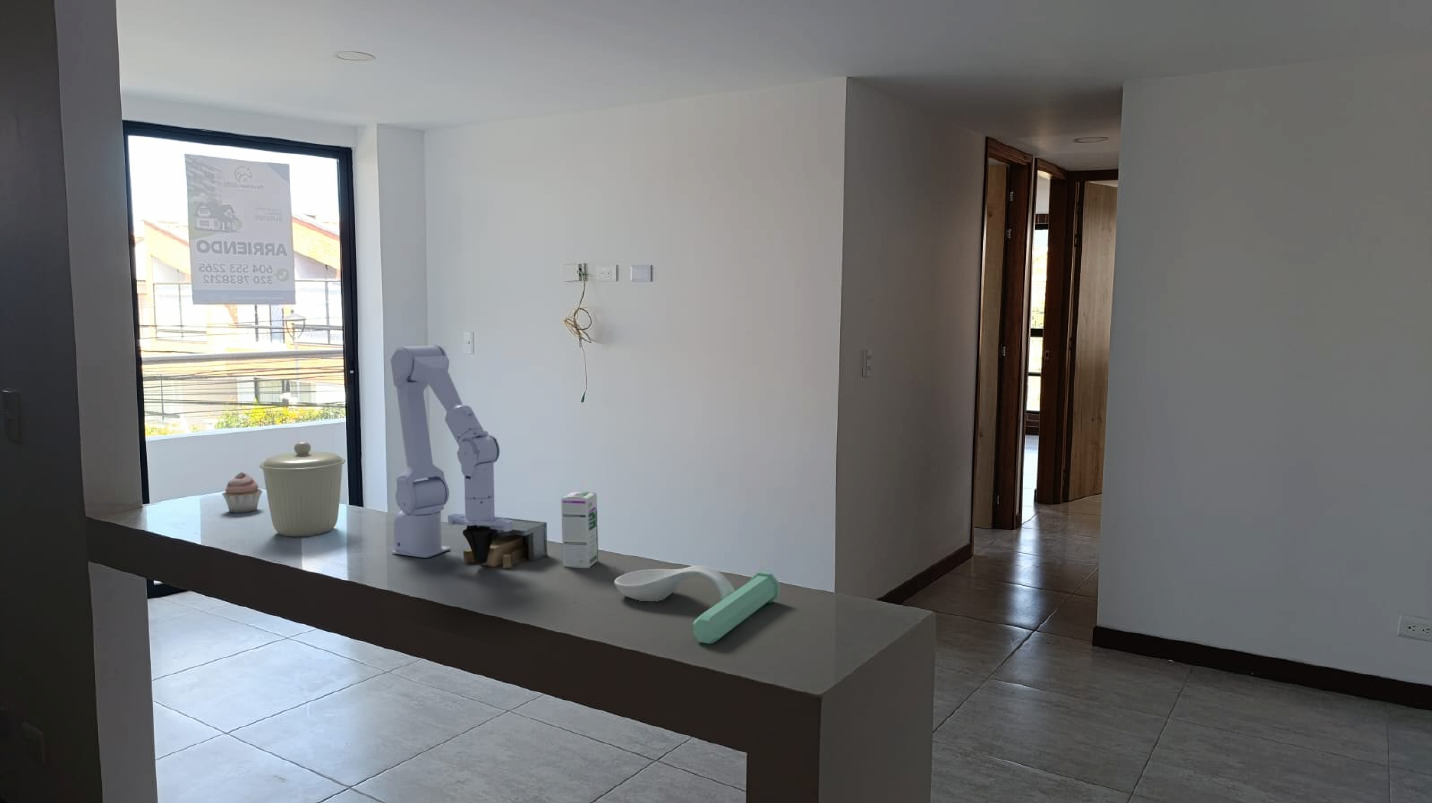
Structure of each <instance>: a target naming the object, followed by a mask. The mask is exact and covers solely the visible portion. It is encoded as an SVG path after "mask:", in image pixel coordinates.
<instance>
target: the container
mask: <svg viewBox="0 0 1432 803" xmlns="http://www.w3.org/2000/svg"><path fill="white" fill-rule="evenodd" d="M779 596H780V582H779V580H778V579H777V577H775V575H773V573H771V572H765V571H758V572H756V574H755V575H754V576H752V577H751V578H750V579H749V581H747V583H745V584H744V585H742V586H741V587H739V588H738V589H736V590H735V592H733V593H732V594H730V595H729V596H728V597H726V598H725V599H723V600H722V601H721V600H720V601H719V602H717V603H716V604H714V605H713V606H712V607H710V608H708V609H707V610H705V611H704V612H703V613H701V614H700V615H699V616H698V617H697V618H696V619H695V620H694V621H693V623H692V625H693V633H692V634H693V636H694V637H695V639H696V640H697V641H698V642H699V643H703V644H709V645H712V644H714V642H715V643H716V642H717V641H719V640H720V639H721V638H723V637H724V636H725V635H727V634H728V633H729V632H730V631H732V630H734V628H736V627H737V626H739V625H740V624H741V623H742V622H744V621H745V620H746V619H748V618H749V617H750V616H752V615H753V614H754V613H755V612H757V611H758V610H760V609H761V608H762V607H764V606H765V605H766V604H767V603H769V604H771V603H772V602H774V601H775V600H776V599H777V598H779Z"/></svg>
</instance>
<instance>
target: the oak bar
mask: <svg viewBox="0 0 1432 803" xmlns="http://www.w3.org/2000/svg"><path fill="white" fill-rule="evenodd" d="M522 545H523V537H517V536H509V535H507V536H504V537H501V538H499V539H496V540H493V541H492V543H491V546H490V549H489V553H488V557H487V562H485V563H483V564H482V565H481V566H486V565H488V566H487V567H497V566H499V565H501V564H502V565H503V555H504V553H505V552H507V551H510V550H512V549H515V548H517V547H520V546H522Z"/></svg>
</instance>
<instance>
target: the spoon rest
mask: <svg viewBox="0 0 1432 803" xmlns="http://www.w3.org/2000/svg"><path fill="white" fill-rule="evenodd" d="M696 576H697V577H702V578H704V579H706V580H707V581H709V582H710V583H711V584H713V585H714V587H715V588H716V589H717V592H718V595H719V597H720V601H722V600H723V599H725V598H726V597H728V596H729V595H730V594H732V593H733V592H735V591H736V590H735V588H734V587H733V585H732V583H731V582H730V581H729V580H728V579H727V578H726V576H725V575H723V574H722V573H721V572H719V571H717V569H716V570H715V569H714V568H712V567H709V566H706V565H702V564H701V565H692V566H688V567H684V568H678V569H677V568H676V569H671V568H670V569H669V568H653V569H642V570H641V569H639V570H635V571H634V570H633V571H631V572H627V573H624V574H621V575H620V576H618V577H616V578H615V579H614V581H613V582H614V585H615V587H616V588H617V589H618V590H619V592H620V593H622V594H623V595H624V596H625V597H628V598H629V599H632V600H634V599H635V601H637V600H639V601H638V602H641V601H656V602H660V601H659V600H661V601H663V599H664V600H665V599H667V597H668V596H670V595H671V594H672V593H674V591H675V590H676V589H677V588H679V587H680V585H681V584H683V582H685V581H686V580H687V579H689V578H690V577H691V578H692V577H696Z"/></svg>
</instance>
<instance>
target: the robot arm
mask: <svg viewBox="0 0 1432 803" xmlns="http://www.w3.org/2000/svg"><path fill="white" fill-rule="evenodd" d="M390 364H391V372H392V378H393V380H392V381H393V386H394V387H395V388H396V394H397V402H398V403H397V404H398V408H399V417H400V425H401V431H402V432H401V433H402V440H403V447H404V448H403V449H404V454H405V455H404V456H405V463H406V468H405V469H404V470H403V471H402V472H401V473H400V474H399V475H398V476H397V477H396V492H395V501H396V505H397V507H398V508H399V509H400V511H399V512H397V514H396V515H395V518H394V520H393V545H394V550H391V554H396V555H404V556H408V557H417V558H423V559H426V558H430V557H434V556H436V555H440V554H442V553H444V552H447V551H449V550H452V549H451V546H446V545H445V546H444V545H443V544H442V542H443V540H442V539H443V538H442V513H441V512H442V511H443V510H444V509H445V507H444V506H445V505H446V504H447V502H448V501H449V498H450V489H449V485H448V484H447V482H446V479H445V474H444V472H445V471H443V470H442V469H440V468H439V467H437V466H436V465H435V464H434V463H433V461H434V460H433V456H432V448H431V441H430V440H431V439H430V432H429V425H428V416H427V411H426V403H425V395H424V391H425V390H426V388H427V387H428V386H429V387H430V388H431V391H432V392H433V393H434V395H435V397H436V398H437V399H438V401H439V402H440V404H441V405H442V406H443V408H444V410H445V411H446V414H445V417H444V422H445V423H446V425H447V426H448V429H449V431H450V432H451V434H452V436H453V438H454V440H455V441H456V443H457V445H458V449H457V451H456V455H457V459H458V461H459V464H460V466H461V472H462V473H461V474H462V475H463V476H464V478H463V480H464V513H451V514H449V515H447V525H449V526H454V525H457V526H464V527H465V528H466V529H463V530H462V535H463V537H465V539H466V542H468V545H469V547H470V549H471V550H472V553H473V556H474V560H475V562H474V563H475V565H476V564H477V565H479V564H483V563H485V562H487V557H488V553H489V549H490V546H491V543H492V541H493V539H494V537H495V535H496V533H497V531H498V530H503V531H504V532H508V531H511V530H513V520H507V519H504V518H505V517H503V518H500V517H501V516H500V517H499V516H496V515H495V473H494V472H495V471H494V470H495V469H494V468H495V466H494V465H495V464H494V463H496V462H497V461H498V460H499V458H500V452H501V450H500V445H499V442H498V440H497V439H498V438H496V437H495V436H494V435H492V434H489V432H488V431H486V430H484V428H483V426H482V425H481V423H480V421H479V420H478V418H477V416H476V414H475V412H474V410H473V409H472V407H471V406H469V405H467V404H464V403H463V401H462V400H461V396H460V395H459V392H458V391H457V389H456V386H455V384H454V382H453V380H452V377H451V376H450V373H449V367H450V366H449V365H450V359H449V357H448V356H447V353H446V351H445V349H444V347H443V346H441V345H439V344H434V345H420V346H419V345H418V346H417V345H416V346H405V345H404V346H403V345H402V346H398V347H397V348H396V349H395V351H394V353H393V354H392V356H391V358H390ZM420 479H421V480H420ZM422 479H423V480H422Z"/></svg>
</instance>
